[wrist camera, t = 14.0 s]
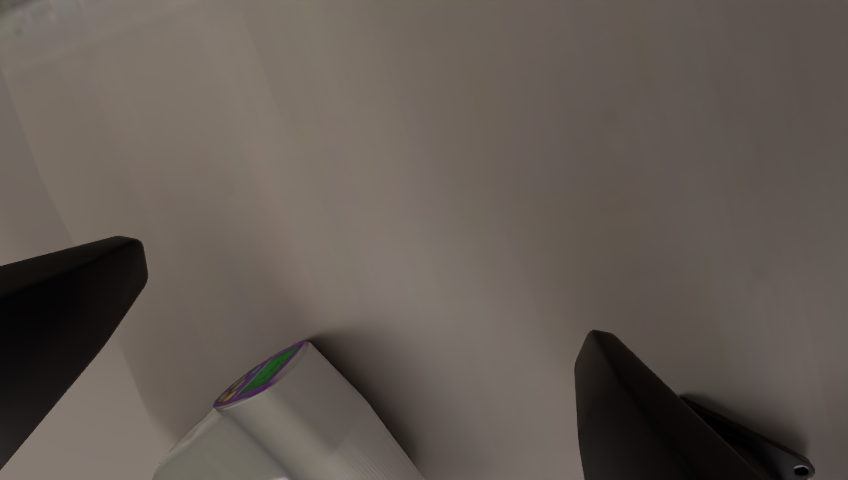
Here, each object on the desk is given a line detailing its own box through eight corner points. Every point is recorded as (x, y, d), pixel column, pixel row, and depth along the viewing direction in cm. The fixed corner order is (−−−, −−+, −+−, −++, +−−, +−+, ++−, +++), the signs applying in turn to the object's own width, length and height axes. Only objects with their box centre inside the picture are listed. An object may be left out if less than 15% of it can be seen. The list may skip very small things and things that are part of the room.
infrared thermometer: (181, 425, 31) (304, 318, 24) (306, 545, 33) (457, 475, 26) (123, 482, 27) (250, 373, 20) (268, 616, 28) (435, 557, 21)
